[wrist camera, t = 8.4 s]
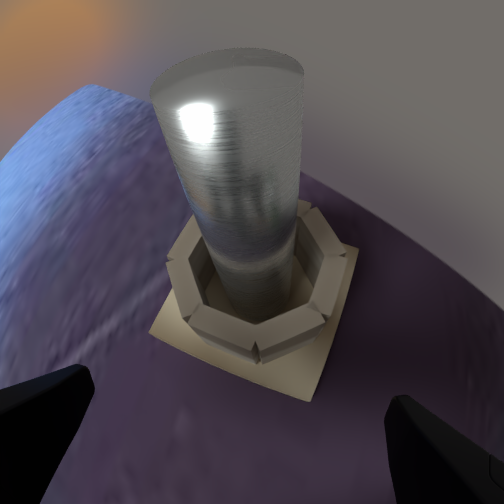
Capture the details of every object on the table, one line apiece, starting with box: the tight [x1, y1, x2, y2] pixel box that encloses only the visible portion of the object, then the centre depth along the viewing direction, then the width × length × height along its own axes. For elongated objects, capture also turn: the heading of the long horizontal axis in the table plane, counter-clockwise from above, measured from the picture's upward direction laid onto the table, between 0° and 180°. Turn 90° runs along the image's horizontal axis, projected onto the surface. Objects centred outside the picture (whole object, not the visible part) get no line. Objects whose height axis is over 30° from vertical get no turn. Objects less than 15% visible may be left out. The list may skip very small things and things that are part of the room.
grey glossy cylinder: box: [150, 48, 304, 321], centre depth 11 cm, size 4×4×13 cm
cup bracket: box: [149, 199, 359, 402], centre depth 16 cm, size 10×10×5 cm
